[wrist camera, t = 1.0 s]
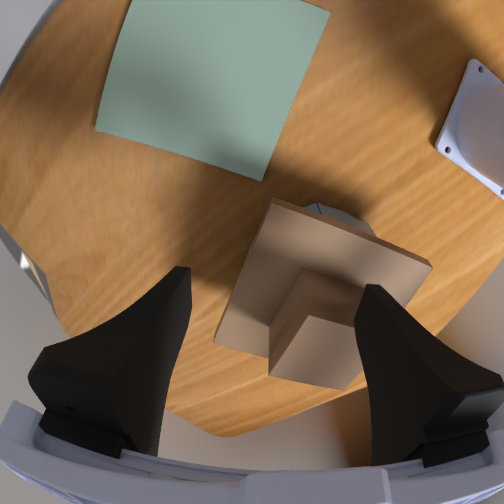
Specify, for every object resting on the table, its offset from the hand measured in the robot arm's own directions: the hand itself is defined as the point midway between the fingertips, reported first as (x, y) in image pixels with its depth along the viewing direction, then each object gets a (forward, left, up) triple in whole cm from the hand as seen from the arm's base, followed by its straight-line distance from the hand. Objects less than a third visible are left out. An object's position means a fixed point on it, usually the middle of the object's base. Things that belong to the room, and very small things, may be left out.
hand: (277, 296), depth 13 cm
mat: (+7, -7, -10) cm, 14 cm away
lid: (-5, +4, -6) cm, 8 cm away
